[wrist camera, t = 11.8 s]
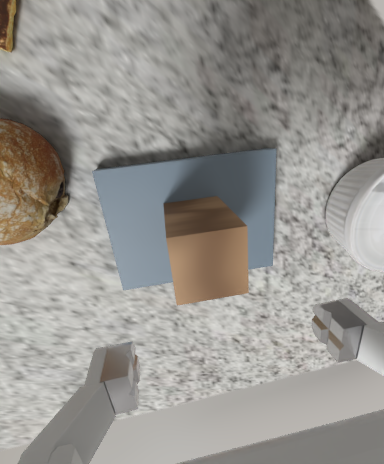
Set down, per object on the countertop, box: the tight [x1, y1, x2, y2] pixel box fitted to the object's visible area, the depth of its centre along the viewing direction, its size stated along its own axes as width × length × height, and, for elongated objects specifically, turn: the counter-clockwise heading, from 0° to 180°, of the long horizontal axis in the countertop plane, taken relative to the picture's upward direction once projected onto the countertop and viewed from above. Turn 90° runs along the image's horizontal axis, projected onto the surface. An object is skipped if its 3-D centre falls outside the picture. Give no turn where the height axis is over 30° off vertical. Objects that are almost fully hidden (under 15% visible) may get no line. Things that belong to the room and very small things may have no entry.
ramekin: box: [326, 158, 384, 272], centre depth 24 cm, size 11×11×5 cm
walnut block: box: [163, 196, 248, 305], centre depth 19 cm, size 5×5×8 cm
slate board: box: [92, 148, 276, 290], centre depth 23 cm, size 16×12×2 cm
